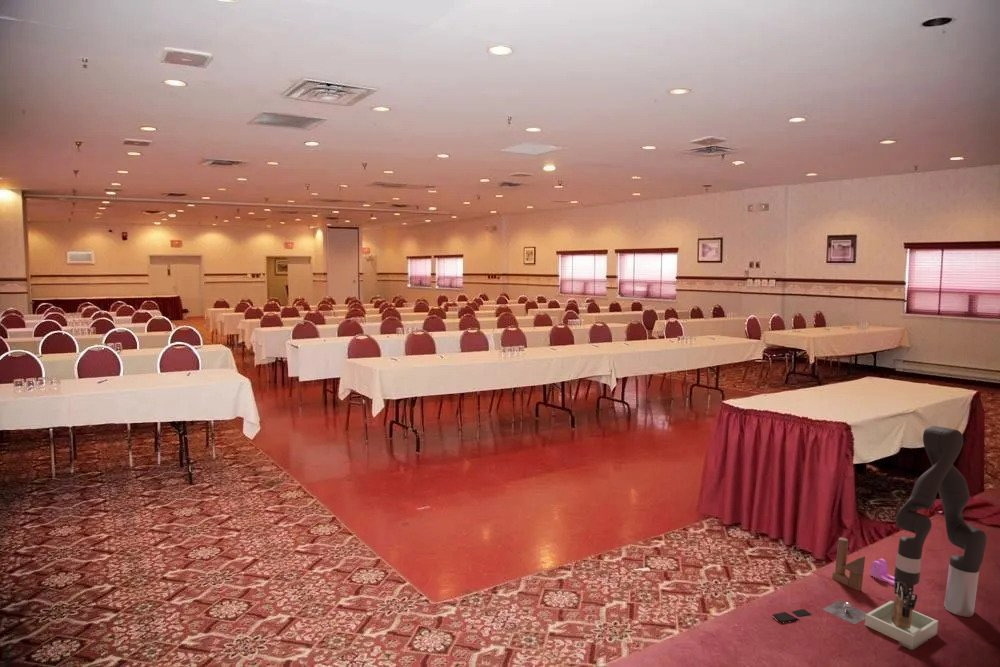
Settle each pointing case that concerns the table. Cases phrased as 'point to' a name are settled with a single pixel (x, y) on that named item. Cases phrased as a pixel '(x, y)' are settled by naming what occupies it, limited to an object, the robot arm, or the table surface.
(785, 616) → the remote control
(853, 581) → the brown wooden angled stand
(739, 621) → the table surface
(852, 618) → the stud plate
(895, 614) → the strut
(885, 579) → the bracket
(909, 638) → the tray
